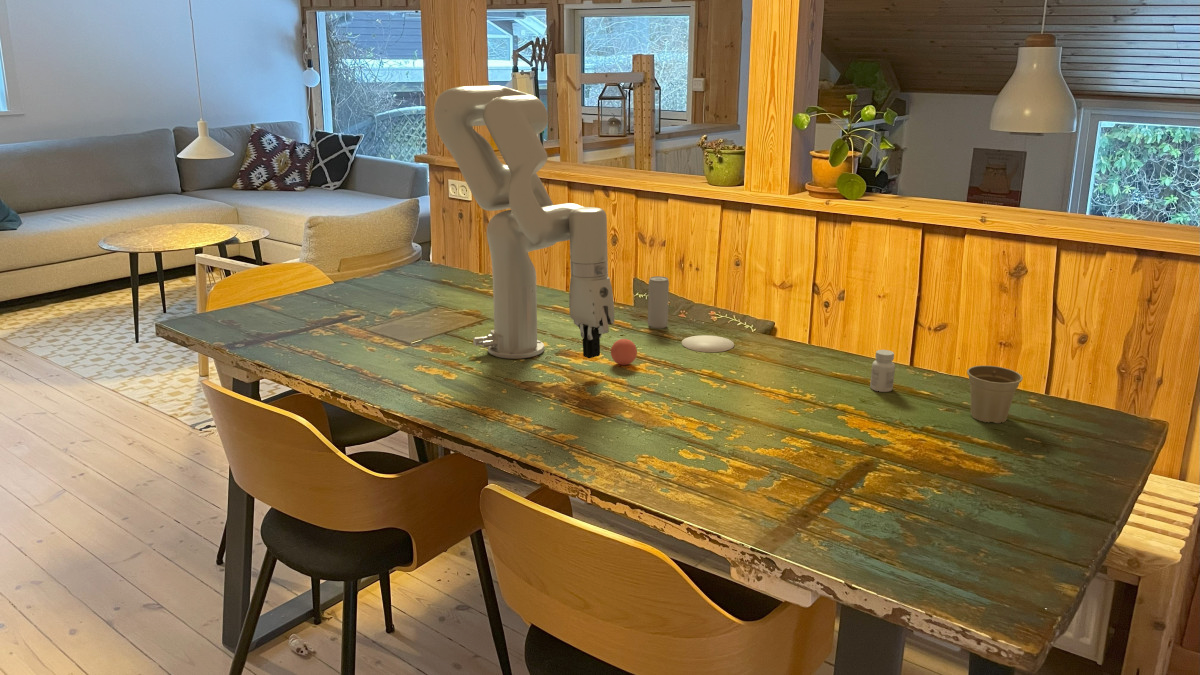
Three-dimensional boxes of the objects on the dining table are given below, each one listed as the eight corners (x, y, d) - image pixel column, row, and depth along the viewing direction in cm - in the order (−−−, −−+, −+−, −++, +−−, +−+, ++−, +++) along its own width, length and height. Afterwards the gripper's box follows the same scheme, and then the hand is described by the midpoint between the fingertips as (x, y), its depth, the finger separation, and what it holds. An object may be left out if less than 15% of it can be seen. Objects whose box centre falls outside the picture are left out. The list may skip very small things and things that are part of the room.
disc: (698, 354, 205) (698, 354, 205) (672, 339, 216) (672, 339, 216) (744, 348, 210) (744, 347, 210) (716, 333, 220) (716, 332, 220)
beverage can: (668, 329, 224) (669, 281, 220) (648, 329, 224) (649, 280, 220) (667, 323, 228) (668, 276, 225) (647, 323, 228) (648, 276, 225)
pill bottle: (893, 386, 187) (897, 350, 185) (892, 393, 183) (896, 356, 181) (870, 383, 189) (874, 347, 186) (869, 391, 185) (872, 354, 182)
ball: (617, 370, 195) (617, 344, 194) (606, 362, 200) (606, 337, 199) (641, 366, 198) (641, 341, 196) (629, 358, 203) (629, 334, 201)
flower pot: (1011, 431, 166) (1018, 386, 163) (956, 420, 170) (962, 376, 168) (1019, 414, 173) (1026, 371, 171) (967, 404, 178) (972, 362, 175)
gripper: (626, 272, 183) (628, 361, 188) (582, 261, 195) (585, 345, 200) (596, 278, 179) (598, 368, 184) (553, 266, 190) (556, 351, 195)
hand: (591, 356), depth 192 cm, fingers closed
